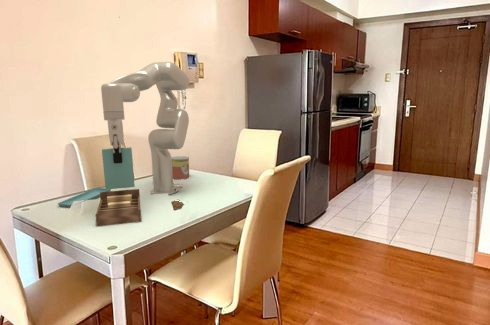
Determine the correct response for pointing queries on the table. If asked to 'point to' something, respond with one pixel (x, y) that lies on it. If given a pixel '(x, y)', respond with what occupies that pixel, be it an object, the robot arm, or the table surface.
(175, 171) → the canned food
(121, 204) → the pine offcut
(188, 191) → the table surface
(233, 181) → the table surface
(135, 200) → the rack
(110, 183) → the tall sheet
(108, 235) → the table surface
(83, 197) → the shallow long dish
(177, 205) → the wooden fragment
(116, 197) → the oak offcut
